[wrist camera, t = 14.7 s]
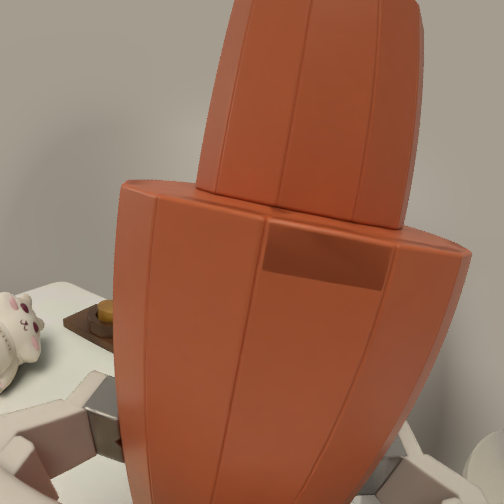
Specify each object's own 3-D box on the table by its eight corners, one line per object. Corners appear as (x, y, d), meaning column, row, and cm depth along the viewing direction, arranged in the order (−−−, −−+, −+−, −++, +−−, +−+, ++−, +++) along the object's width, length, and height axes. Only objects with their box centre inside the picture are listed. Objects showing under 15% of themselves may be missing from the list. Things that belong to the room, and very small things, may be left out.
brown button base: (164, 339, 41) (165, 320, 41) (133, 363, 34) (133, 342, 34) (96, 310, 45) (96, 293, 44) (63, 326, 37) (62, 307, 37)
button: (131, 317, 40) (132, 305, 40) (113, 327, 36) (113, 315, 36) (110, 308, 41) (110, 297, 41) (92, 317, 37) (91, 305, 37)
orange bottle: (267, 534, 12) (409, 90, 7) (263, 614, 6) (547, 14, 2) (165, 517, 12) (208, 48, 8) (141, 594, 7) (133, -94, 2)
